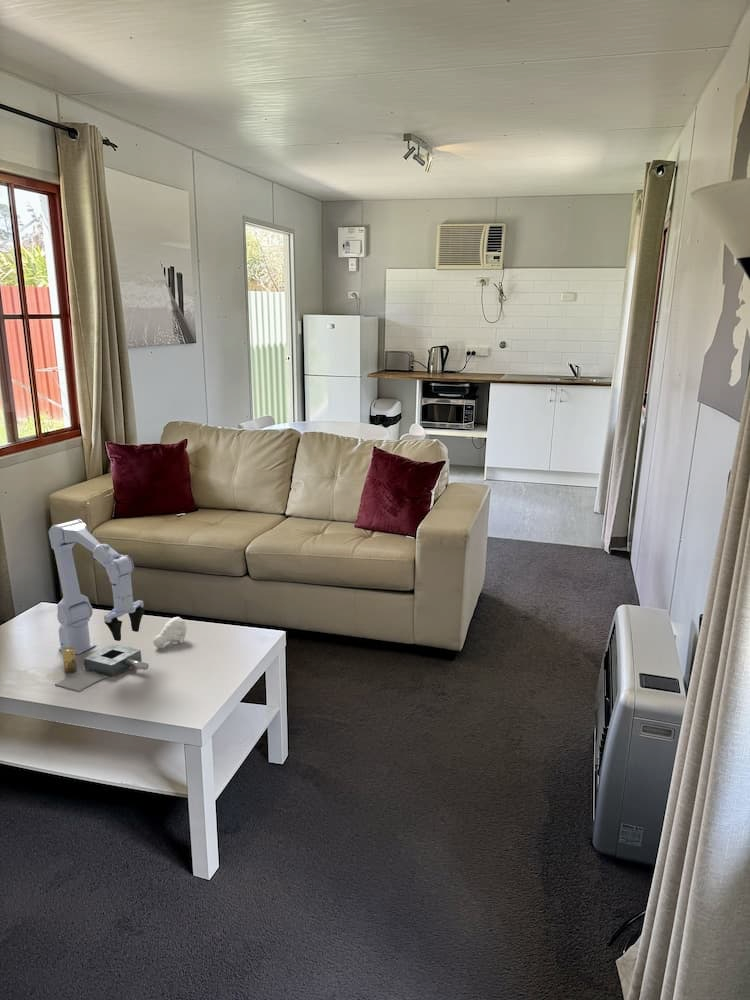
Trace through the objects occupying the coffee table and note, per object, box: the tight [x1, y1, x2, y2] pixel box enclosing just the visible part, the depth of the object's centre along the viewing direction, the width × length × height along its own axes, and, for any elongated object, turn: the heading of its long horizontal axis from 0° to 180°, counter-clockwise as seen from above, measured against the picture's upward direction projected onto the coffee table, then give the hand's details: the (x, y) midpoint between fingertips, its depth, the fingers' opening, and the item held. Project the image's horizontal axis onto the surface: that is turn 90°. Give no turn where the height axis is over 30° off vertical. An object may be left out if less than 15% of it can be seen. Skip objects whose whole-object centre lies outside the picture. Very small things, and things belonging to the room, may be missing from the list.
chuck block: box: [83, 643, 149, 678], centre depth 219 cm, size 20×12×4 cm, turn 64°
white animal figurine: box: [152, 616, 188, 650], centre depth 235 cm, size 6×8×12 cm
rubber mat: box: [54, 669, 107, 693], centre depth 211 cm, size 10×10×1 cm
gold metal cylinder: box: [61, 647, 78, 674], centre depth 217 cm, size 4×4×7 cm
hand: (126, 635), depth 219 cm, fingers open, 7 cm apart
